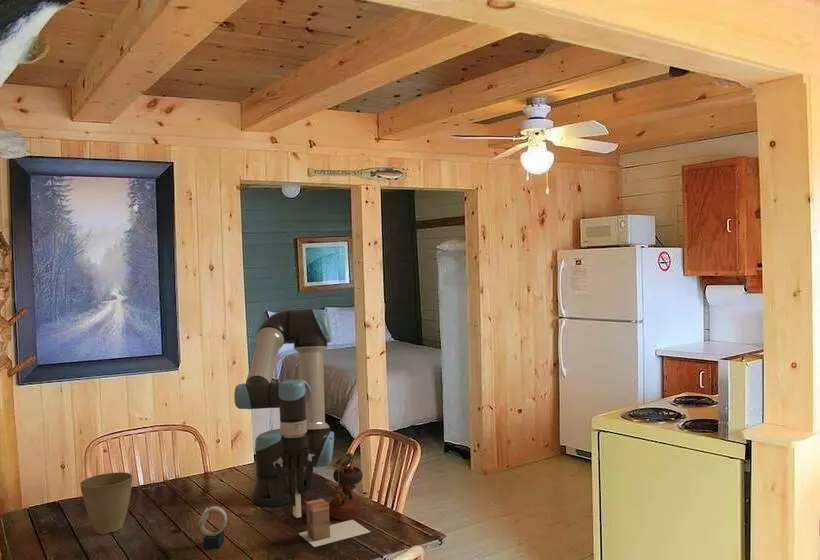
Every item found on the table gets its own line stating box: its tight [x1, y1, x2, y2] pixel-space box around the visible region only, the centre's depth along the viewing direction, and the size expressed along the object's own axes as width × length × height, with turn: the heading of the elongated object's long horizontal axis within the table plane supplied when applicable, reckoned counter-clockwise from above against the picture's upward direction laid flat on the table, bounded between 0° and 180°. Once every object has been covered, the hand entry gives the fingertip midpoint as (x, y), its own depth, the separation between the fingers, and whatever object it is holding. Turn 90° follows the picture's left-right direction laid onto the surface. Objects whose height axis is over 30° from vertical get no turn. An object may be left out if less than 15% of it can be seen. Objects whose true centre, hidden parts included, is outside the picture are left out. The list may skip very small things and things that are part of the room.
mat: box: [298, 519, 371, 548], centre depth 202 cm, size 12×18×1 cm, turn 121°
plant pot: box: [79, 471, 133, 533], centre depth 212 cm, size 15×15×16 cm
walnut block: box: [305, 498, 331, 541], centre depth 199 cm, size 5×5×10 cm
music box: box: [329, 452, 364, 521], centre depth 217 cm, size 15×11×20 cm
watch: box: [198, 505, 228, 550], centre depth 197 cm, size 6×8×11 cm
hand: (297, 515), depth 196 cm, fingers closed
